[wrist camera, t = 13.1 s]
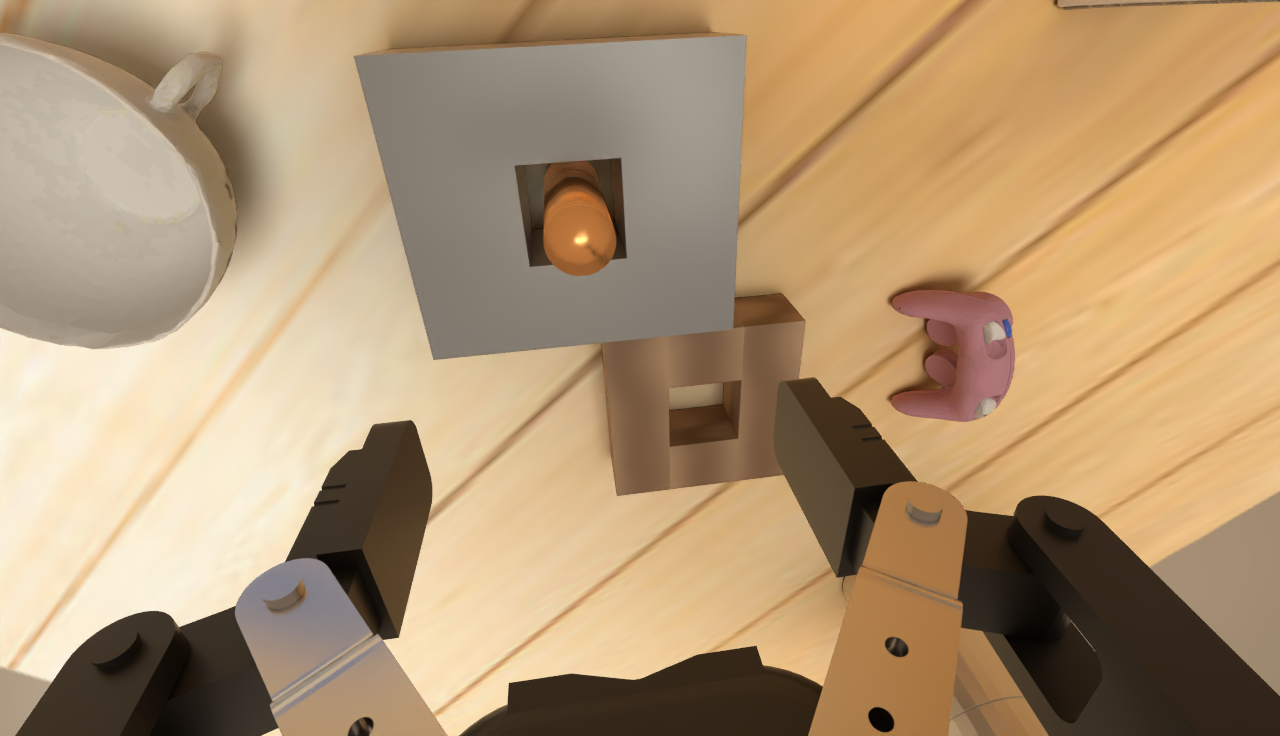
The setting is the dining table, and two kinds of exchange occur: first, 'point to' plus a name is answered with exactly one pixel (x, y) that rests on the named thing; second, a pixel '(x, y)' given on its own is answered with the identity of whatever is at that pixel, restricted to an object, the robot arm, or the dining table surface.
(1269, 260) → the dining table surface
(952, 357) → the video game controller
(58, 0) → the dining table surface
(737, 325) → the pin mount
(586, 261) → the pin
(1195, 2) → the hard drive box
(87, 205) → the teacup
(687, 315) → the dock socket
